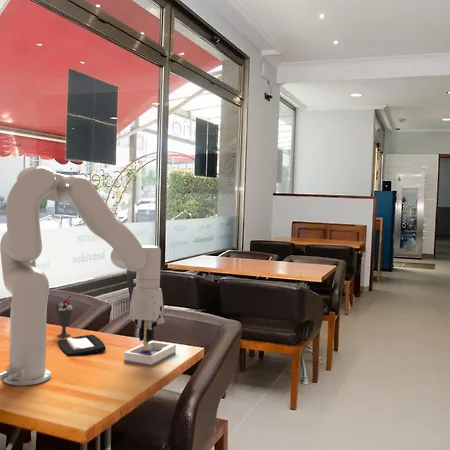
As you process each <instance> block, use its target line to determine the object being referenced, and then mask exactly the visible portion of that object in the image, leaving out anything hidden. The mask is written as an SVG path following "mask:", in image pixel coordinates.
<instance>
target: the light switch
mask: <svg viewBox="0 0 450 450" xmlns="http://www.w3.org/2000/svg"><path fill="white" fill-rule="evenodd" d="M57 342H58V343H57V344H58V347H59V349H60V350H61V351H62V353H63V354H64V355H66V356H67V357H77V356H78V357H79V356H84V355H90V354H94V353H99V352H103V351H106V350H107V348H106V345H105V344H104V342H103V341H102V340H101V339H100V338H99V337H97V336H96V335H94V334H86V335H80V336H79V335H78V336H72V337H66V338H64V339H63V338H62V339H60V340H58V341H57Z"/></svg>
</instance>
